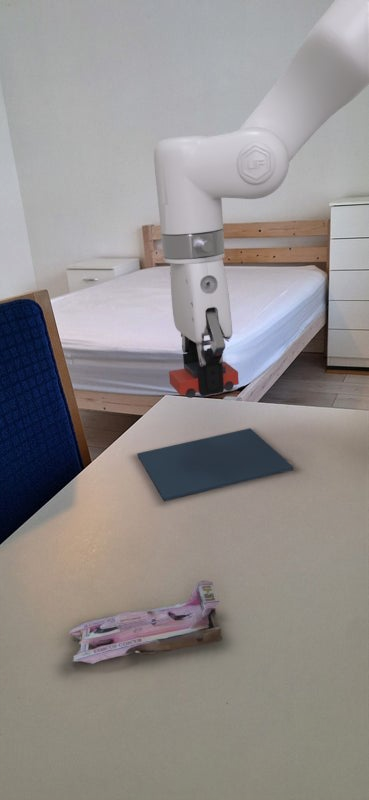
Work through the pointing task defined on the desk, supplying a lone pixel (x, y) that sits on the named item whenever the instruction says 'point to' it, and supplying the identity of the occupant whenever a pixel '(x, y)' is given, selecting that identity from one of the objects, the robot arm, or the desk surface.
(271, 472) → the mat
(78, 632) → the toy boat
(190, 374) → the red toy vehicle
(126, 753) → the desk surface
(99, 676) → the desk surface
